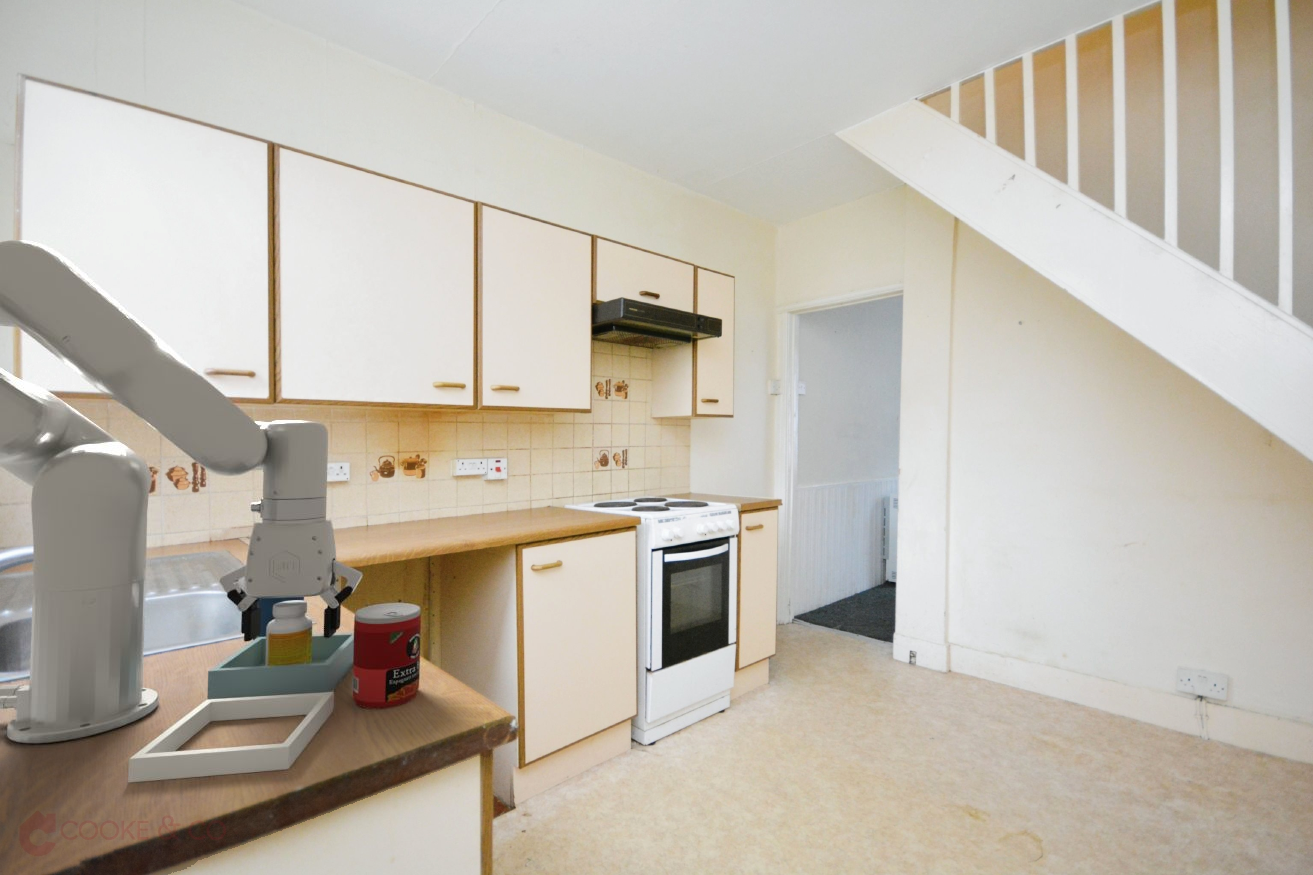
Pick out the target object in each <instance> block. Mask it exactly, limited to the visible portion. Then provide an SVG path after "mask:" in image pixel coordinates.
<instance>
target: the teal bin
mask: <svg viewBox="0 0 1313 875" xmlns="http://www.w3.org/2000/svg"><path fill="white" fill-rule="evenodd" d="M353 650H354V632H347V633H344V632H343V633H341V632H340V633H334V634H333V635H332V636H331V637H330V638H325V637H324V633H323V634H319V633H318V634H312V664H295V665H275V666H265V655H266V637H258V638H256V639H255V640H253V639H252V640H251V641H249V643H248V644H246V645H244V646H243V647H242V648H240V649H239V650H237V651H236V652H234V653H233V654H232V655H230V656H228V657H227V658H225V659H224V660H223V661H221V662H219V663H218V664H217V665H216V666H214V667H212V668H211V669H209V670H208V671H207V672H208V673H207V699H224V698H240V697H256V696H273V695H289V694H306V693H322V692H334V690H335V689H336V688H337V687H338V686H339V684H341V682H342V680H343V679H344V678H345V677H346V676H347V675H348V673H349V672H350V671H351V670H352V669H353ZM350 669H351V670H350ZM335 687H336V688H335ZM207 699H206V700H207Z"/></svg>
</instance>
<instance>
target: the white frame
mask: <svg viewBox="0 0 1313 875" xmlns="http://www.w3.org/2000/svg"><path fill="white" fill-rule="evenodd" d="M334 706H335V691H332V692H322V693H306V694H289V695H273V696H256V697H240V698H224V699H205V700H204V701H203V702H202V703H200V704H199V705H198V706H196V707H195V708H194V709H192V710H191V711H190V712H188V713H187V714H186V715H185V716H183V717H182V718H181V719H180V720H178V721H177V722H175V723H174V724H173V725H172V726H170V727H169V728H167V729H166V730H165V731H164V732H162V733H161V734H160V735H158V736H157V737H156V738H155V739H153V740H152V741H151V742H149V743H148V744H147V745H145V746H144V747H143V748H141V749H140V750H139V751H137V752H136V753H135V754H134V755H132V756H131V757H129V759H128V760H129V761H128V782H127V783H140V782H151V781H161V780H162V781H163V780H174V779H187V778H189V779H190V778H198V777H209V776H211V777H212V776H222V775H235V774H248V773H257V772H258V773H259V772H273V771H282V770H289V769H290V767H291V766H292V765H293V764H294V762H295V761H296V760H297V759H298V757H299V756H300V754H301V753H302V752H303V751H304V749H305V748H306V747H307V746H308V744H309V743H310V742H311V741H312V739H313V738H314V737H315V735H316V734H317V732H318V731H320V729H321V727H322V726H323V725H324V723H325V722H327V720H328V719H329V717H330V716H331V714H332V713H334V711H335V710H334V709H335V707H334ZM304 715H305V717H304V718H303V719H302V721H301V722H300V723H299V724H298V725H297V727H296V728H295V729H294V730H293V731H292V732H291V733H290V735H289V736H288V737H287V738H286V740H284V742H283V743H272V744H271V743H270V744H269V743H268V744H257V745H255V744H254V745H245V746H231V747H230V746H229V747H218V748H217V747H215V748H204V749H203V748H202V749H191V750H190V749H189V750H179V748H180V747H182V745H184V744H185V743H186V742H187V741H189V740H190V739H191V738H192V737H194V736H195V735H196V734H197V733H198V732H200V731H201V730H202V729H203V728H204V727H206V726H207V725H208V724H209V723H210V722H218V721H233V720H246V719H247V720H248V719H249V720H250V719H260V718H261V719H263V718H278V717H290V716H291V717H292V716H293V717H295V716H304Z"/></svg>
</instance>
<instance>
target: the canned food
mask: <svg viewBox="0 0 1313 875" xmlns="http://www.w3.org/2000/svg"><path fill="white" fill-rule="evenodd" d="M421 620H422V612H421V607H420V606H419V605H417V604H414V603H409V602H408V603H407V602H388V603H385V602H384V603H378V604H373V605H368V606H365V607H362V608H360V609H357V610H356V611H355V612H354V620H353V633H354V650H353V667H352V698H353V701H354V703H355V704H356V705H357V706H359V707H362V708H365V709H376V710H377V709H387V708H388V709H389V708H393V707H397V706H401V705H403V704H404V705H405V704H407V703H408V702H410V701H411V700H413V699H414V698H416V696H417V695H418V691H419V688H420V669H421V667H420V665H421V664H420V663H421V634H422V633H421V629H422V628H421V627H422V626H421V625H422V621H421Z"/></svg>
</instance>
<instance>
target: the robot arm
mask: <svg viewBox="0 0 1313 875" xmlns="http://www.w3.org/2000/svg"><path fill="white" fill-rule="evenodd" d="M0 326H1V327H11V328H19V329H20V330H22V331H23V332H24V333H26V334H27V335H28V336H30V337H31V338H32V339H33V340H35V341H36V342H37V343H39V344H40V345H41V346H42V347H44V348H45V349H46V350H47V351H48V352H50V353H51V354H53V355H54V356H55V357H57V358H58V359H59V360H60V361H61V362H63V364H64V365H66V366H68V367H69V369H71V370H73V371H74V372H75V373H77V375H79V376H80V377H81V378H83V379H84V380H85V381H87V382H88V383H89V384H90V385H91V386H93V387H94V388H95V389H97V390H98V391H99V392H101V394H103V395H105V396H106V397H108V398H110V399H112V400H114V401H116V402H118V403H119V404H121V405H122V406H124V407H125V408H127V409H128V410H130V411H131V412H132V413H134V414H135V415H136V416H138V417H139V418H140V419H142V420H143V421H144V422H145V423H147V425H149V426H150V427H151V428H153V429H154V430H155V431H157V432H158V433H159V434H161V435H162V436H163V437H164V438H165V439H167V440H168V441H169V442H171V443H172V444H173V445H175V446H176V447H177V448H178V449H179V450H180V451H182V452H183V453H185V454H186V455H187V457H190V458H191V459H192V460H193V461H194V462H195V463H197V464H198V465H199V466H201V467H202V468H203V469H205V470H206V471H207V472H210V473H211V474H215V475H218V476H223V477H235V476H241V475H244V474H247V473H249V472H256V471H262V472H263V478H262V480H263V481H262V497H261V499H260V501H258V502H252V503H251V505H250V511H251V512H252V513H258V514H259V515H260V516H259V517H260V518H261V520H260V521H255V522H254V524H253V528H252V530H251V535H250V538H249V543H248V550H247V556H246V564H245V565H244V566H242V567H240V568H238V569H236V570H234V571H232V572H230V573H227V574H225V575H224V576H222V577H220V578H219V583H220V585H221V586H222V588H223V590H224V592H225V593H226V597H227V599H229V600H230V601H231V602H232V603H233V605H235V606H236V607H237V610H238V612H241V621H240V622H241V624H240V632H241V634H243V641H244V642H246V643H247V642H252V641H253V639H254V638H255V637H257V636H258V635H260V626H261V607H260V606H257V602H258V601H259V600H260V599H261V598H288V597H304V598H309V597H311V598H312V597H318V596H319V597H320V598H321V599H322V600H323V602H324V603H325V604H327V607H326V608H325V609H324V611H323V634H324V637H325V638H330V637H331V636H332V635H333V634H336V633H337V631H338V630H339V629H340V627H341V614H342V613H341V611H342V610H341V609H342V608H341V607H342V603H344V602H345V600H347V599H348V598H349V597H350V596H351V595H352V594H354V592H355V591H356V589H357V586H358V584H360V582H361V580H362V579H363V572H361V571H359V570H357V569H355V568H353V567H351V566H349V565H347V564H344V563H343V562H340V561H338V560H337V552H336V551H337V549H336V548H337V547H336V540H335V534H334V528H333V523H332V520H331V519H329V518H327V498H328V497H327V493H328V490H327V489H328V463H329V461H328V458H329V455H328V454H329V430H328V428H327V426H326V425H325V424H323V423H322V422H320V421H312V420H297V419H296V420H295V419H294V420H288V419H285V420H284V419H283V420H280V419H279V420H274V421H271V422H266V421H255V420H254V419H253V418H252V417H250V416H249V415H248V414H247V413H246V412H244V411H243V410H242V409H241V408H240V407H239V406H238V405H236V403H234V402H232V400H231V399H229V397H227V396H226V395H225V394H224V393H222V392H221V391H220V390H219V389H218V388H216V387H215V386H214V385H213V384H212V383H211V382H210V381H208V379H206V378H205V377H203V376H202V375H201V374H200V373H199V372H198V371H196V370H195V369H193V367H191V366H190V365H189V364H188V363H187V362H186V361H184V360H183V359H182V358H181V357H180V356H179V355H178V354H177V353H176V352H175V351H174V349H172V348H171V347H170V346H169V345H167V344H166V342H164V341H163V340H161V338H159V337H158V336H157V335H156V334H155V333H154V332H153V331H151V330H150V329H149V328H147V327H146V326H145V325H144V324H143V323H141V321H139V320H138V319H137V318H136V317H135V316H133V315H132V314H131V313H130V312H129V311H127V309H125V308H124V307H123V306H122V305H121V304H120V303H118V301H117V300H115V299H114V298H113V297H111V295H109V294H108V293H107V292H106V291H105V290H103V288H101V287H100V286H99V285H98V284H96V283H95V282H94V281H93V280H92V279H90V278H89V277H88V275H86V274H85V273H84V272H82V270H80V269H79V268H78V267H77V266H75V265H74V263H72V262H71V261H70V260H68V258H66V257H64V256H63V255H61V253H59V252H57V251H55V250H54V249H53V248H51V247H50V248H49V247H48V246H46V245H44V244H41V243H37V242H33V241H30V240H22V239H21V240H19V239H16V240H13V239H11V240H5V241H0ZM0 467H1V468H2V469H4V470H6V471H8V472H9V473H10V474H12V475H13V476H15V477H16V478H18V479H19V480H22V481H23V482H25V483H26V484H28V485H29V486H31V487H32V490H31V498H30V499H31V501H30V502H31V504H30V506H31V507H30V508H31V523H32V524H31V526H32V540H33V541H32V543H33V545H32V546H33V548H32V549H33V554H32V555H33V562H32V564H33V565H32V567H33V569H32V607H31V608H32V609H31V610H32V612H31V633H30V634H31V637H30V660H29V661H30V662H29V664H30V666H29V684H20V683H19V684H5V685H1V686H0V710H5V709H13V708H14V710H16V711H15V713H16V715H15V717H14V718H12V719H11V721H10V722H8V724H7V727H6V730H7V732H6V737H7V738H8V739H10V740H11V741H13V742H17V743H22V744H45V743H57V742H64V741H69V740H70V741H71V740H75V739H82V738H85V737H89V736H95V735H97V734H101V733H105V732H109V731H112V730H114V729H117V728H120V727H123V726H126V725H128V724H130V723H132V722H136V721H137V720H140V719H142V718H143V717H145V716H147V715H148V714H150V713H151V712H153V711H154V710H155V709H156V708H157V706H158V705H159V698H160V696H159V693H158V692H157V691H156V690H154V689H151V688H149V687H148V688H147V687H143V680H144V679H143V677H144V676H143V675H144V674H143V673H144V649H145V648H144V645H145V644H144V643H145V619H146V618H145V610H146V585H147V584H146V583H147V582H146V580H147V578H146V577H147V576H146V575H147V574H146V573H147V571H146V570H147V537H148V536H147V534H148V529H147V528H148V527H147V526H148V507H149V506H148V505H149V494H150V491H151V488H152V482H153V478H152V473H151V472H152V471H151V470H150V467H149V465H148V464H147V462H146V461H145V459H143V458H142V456H141V455H139V454H138V453H137V452H135V451H134V450H132V448H130V447H128V446H127V445H125V444H124V443H123V442H121V441H120V440H118V439H117V438H115V437H114V436H113V435H111V434H110V433H108V432H107V431H106V430H105V429H103V428H102V427H100V426H99V425H97V424H95V422H93V421H92V420H90V419H89V418H87V417H86V416H85V415H83V414H82V413H80V412H79V411H78V410H76V409H75V408H73V407H72V406H71V405H69V404H68V403H66V402H65V401H63V400H62V399H61V398H59V397H58V396H56V395H55V394H53V393H51V392H50V391H48V390H46V389H44V388H42V387H40V386H38V385H35V384H33V383H31V382H28V381H25V380H22V379H20V378H18V377H16V376H15V375H13V374H11V373H10V372H8V371H7V370H4V369H3V368H2V367H0ZM337 576H341V577H343V578H345V579H346V581H347V582H346V583H345V585H344V587H343V588H342V590H340V591H339V589H338V588H337V587H336V586H335V585H336V584H337ZM242 578H244V583H243V584H244V590H243V589H242V588H241V587H240V585H239V580H240V579H242Z"/></svg>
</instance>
